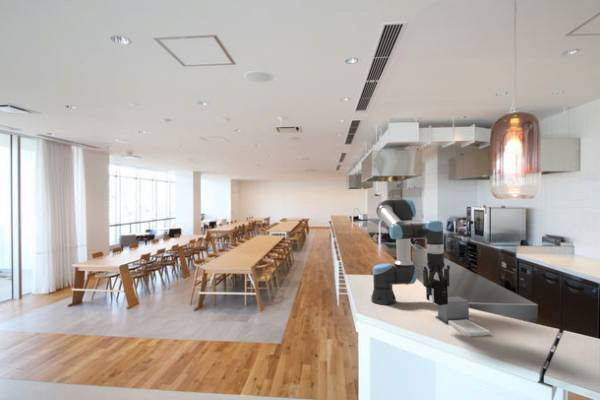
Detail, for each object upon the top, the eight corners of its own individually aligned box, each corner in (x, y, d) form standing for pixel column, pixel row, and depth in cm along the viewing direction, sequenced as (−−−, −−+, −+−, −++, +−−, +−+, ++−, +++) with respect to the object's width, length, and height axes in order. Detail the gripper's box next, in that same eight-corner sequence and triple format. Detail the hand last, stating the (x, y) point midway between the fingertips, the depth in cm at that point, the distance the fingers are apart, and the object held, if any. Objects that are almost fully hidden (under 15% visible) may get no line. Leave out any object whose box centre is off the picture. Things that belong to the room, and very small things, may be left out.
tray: (448, 324, 153) (448, 320, 153) (466, 322, 154) (466, 319, 154) (469, 336, 137) (469, 332, 137) (490, 335, 139) (490, 331, 139)
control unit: (435, 317, 163) (434, 297, 163) (459, 316, 165) (458, 295, 165) (446, 324, 153) (445, 302, 154) (472, 322, 155) (471, 300, 155)
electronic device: (440, 305, 142) (439, 283, 142) (426, 299, 151) (425, 279, 152) (448, 304, 143) (447, 283, 143) (433, 298, 152) (432, 278, 153)
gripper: (422, 254, 143) (423, 305, 142) (457, 253, 145) (459, 302, 144) (414, 252, 150) (415, 300, 150) (447, 251, 153) (449, 298, 152)
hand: (437, 301), depth 147 cm, fingers closed on electronic device, 5 cm apart
